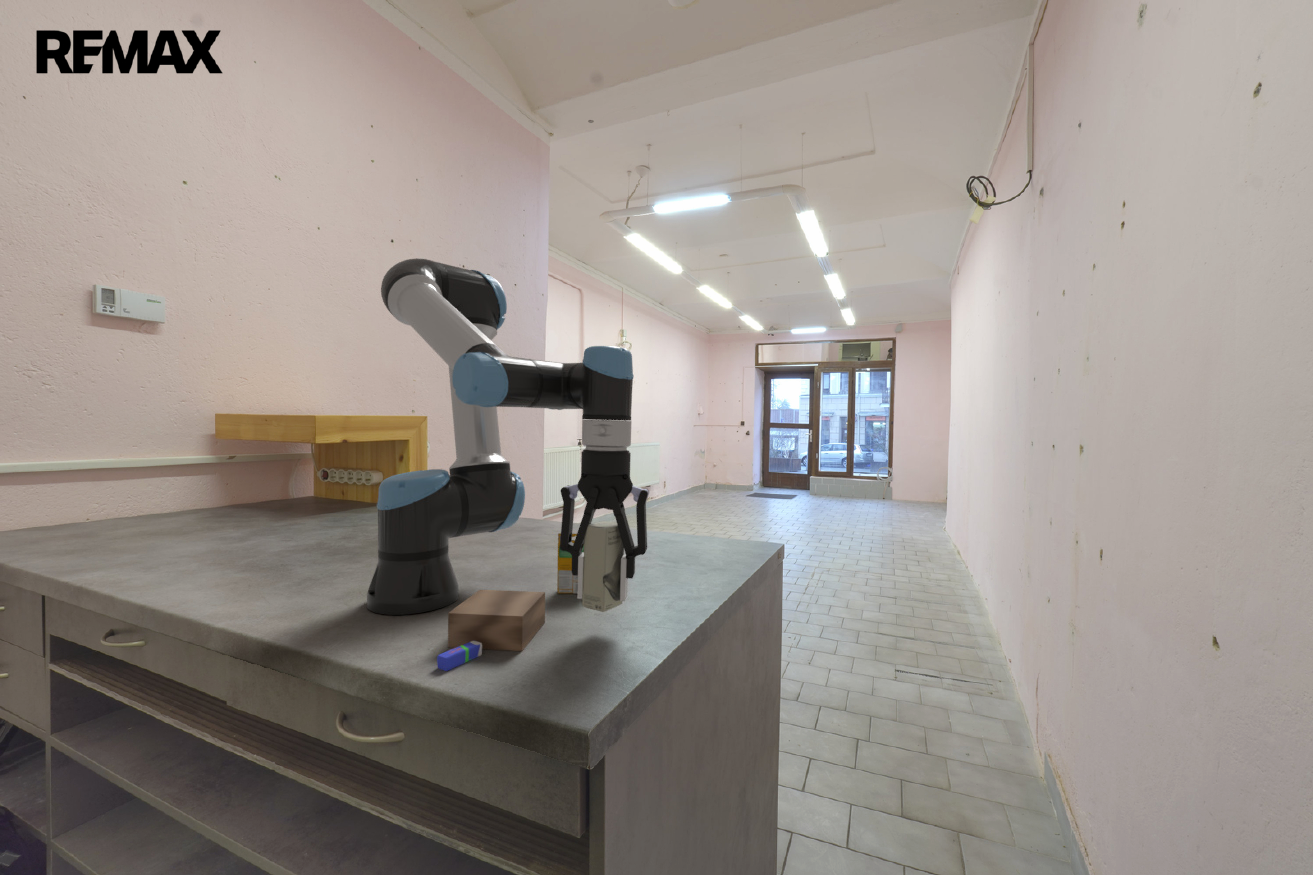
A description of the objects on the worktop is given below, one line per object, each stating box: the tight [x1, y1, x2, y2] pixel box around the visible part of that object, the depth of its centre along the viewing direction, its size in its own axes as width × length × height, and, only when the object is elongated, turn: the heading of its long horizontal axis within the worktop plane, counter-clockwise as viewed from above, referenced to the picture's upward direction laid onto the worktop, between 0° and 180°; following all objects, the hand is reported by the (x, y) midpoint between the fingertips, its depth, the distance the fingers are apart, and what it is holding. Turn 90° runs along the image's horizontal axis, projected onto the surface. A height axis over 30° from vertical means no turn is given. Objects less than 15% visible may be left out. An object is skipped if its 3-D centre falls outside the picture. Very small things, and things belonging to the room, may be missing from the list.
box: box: [581, 520, 625, 613], centre depth 83 cm, size 5×4×13 cm
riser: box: [447, 589, 546, 652], centre depth 82 cm, size 11×11×5 cm
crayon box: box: [556, 532, 584, 595], centre depth 103 cm, size 7×3×12 cm, turn 88°
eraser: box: [436, 641, 483, 672], centre depth 73 cm, size 2×6×2 cm, turn 149°
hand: (602, 596), depth 83 cm, fingers closed on box, 6 cm apart
